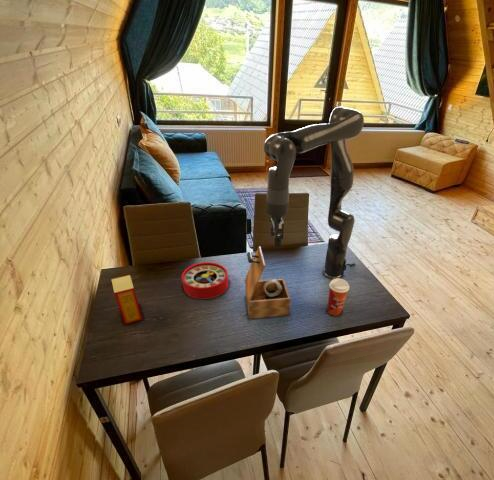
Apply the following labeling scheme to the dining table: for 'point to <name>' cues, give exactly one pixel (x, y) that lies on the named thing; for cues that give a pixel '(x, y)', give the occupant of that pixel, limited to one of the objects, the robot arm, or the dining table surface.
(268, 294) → the watch
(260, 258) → the lid
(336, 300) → the coffee cup
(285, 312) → the chest
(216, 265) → the toy clock
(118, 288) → the baking soda box
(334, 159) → the robot arm
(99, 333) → the dining table surface
